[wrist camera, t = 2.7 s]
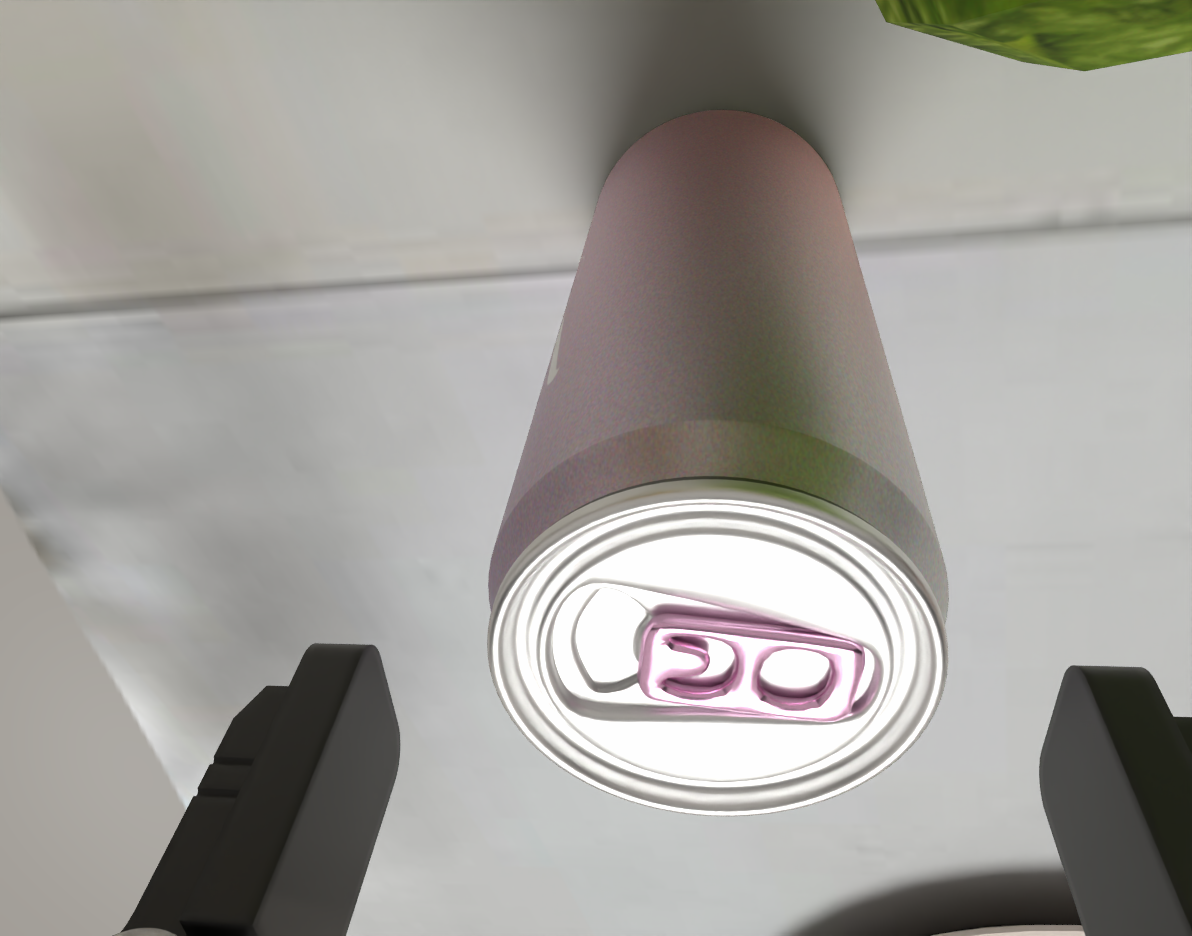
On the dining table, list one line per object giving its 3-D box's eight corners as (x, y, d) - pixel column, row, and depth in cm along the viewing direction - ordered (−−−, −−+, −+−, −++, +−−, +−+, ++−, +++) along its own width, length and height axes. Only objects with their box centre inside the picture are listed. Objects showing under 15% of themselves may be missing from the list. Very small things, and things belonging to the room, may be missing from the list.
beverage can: (815, 346, 26) (898, 853, 14) (589, 322, 26) (472, 797, 14) (865, 113, 22) (1037, 511, 10) (605, 89, 23) (466, 448, 10)
